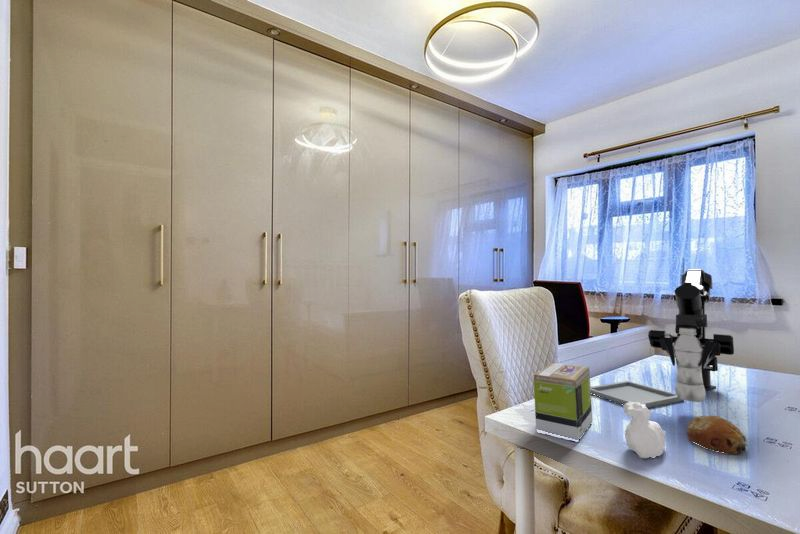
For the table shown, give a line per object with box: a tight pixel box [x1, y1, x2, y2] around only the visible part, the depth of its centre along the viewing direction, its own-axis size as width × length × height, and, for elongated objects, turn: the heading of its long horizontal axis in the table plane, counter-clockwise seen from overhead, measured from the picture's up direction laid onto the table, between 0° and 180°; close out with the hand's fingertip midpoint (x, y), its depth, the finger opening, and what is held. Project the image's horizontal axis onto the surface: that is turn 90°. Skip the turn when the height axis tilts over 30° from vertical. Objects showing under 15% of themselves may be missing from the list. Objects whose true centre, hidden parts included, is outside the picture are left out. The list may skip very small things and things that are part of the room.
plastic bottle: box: [673, 327, 707, 403], centre depth 100 cm, size 6×7×20 cm
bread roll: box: [686, 414, 748, 455], centre depth 82 cm, size 10×10×8 cm
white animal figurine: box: [622, 402, 666, 459], centre depth 80 cm, size 12×8×11 cm
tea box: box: [533, 362, 593, 440], centre depth 92 cm, size 15×10×15 cm
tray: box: [590, 380, 685, 409], centre depth 115 cm, size 20×18×2 cm
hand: (687, 366), depth 99 cm, fingers closed on plastic bottle, 6 cm apart
